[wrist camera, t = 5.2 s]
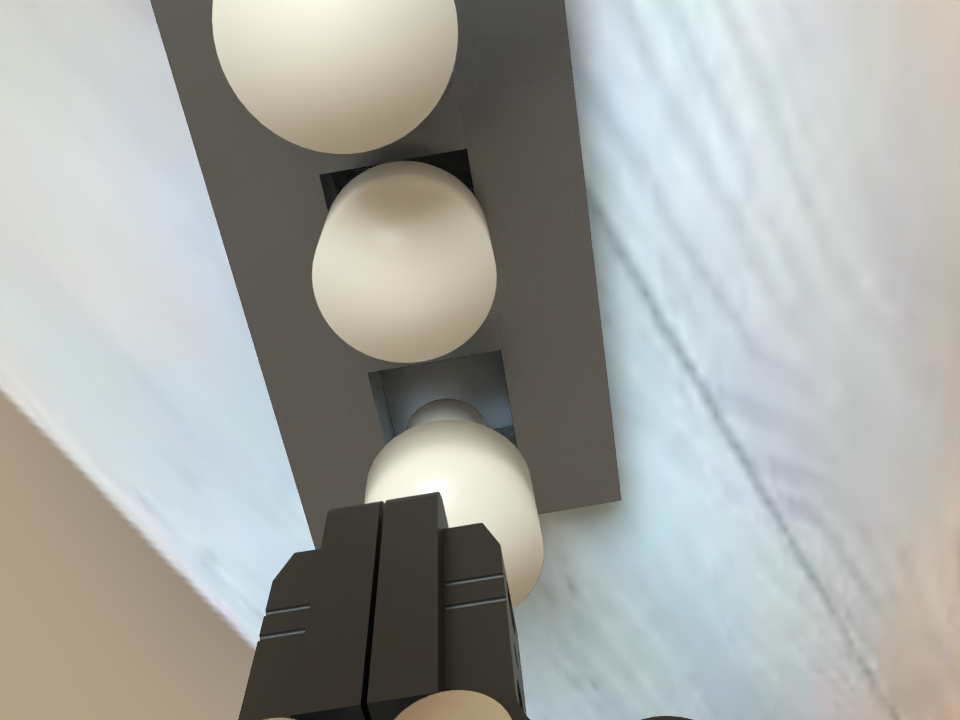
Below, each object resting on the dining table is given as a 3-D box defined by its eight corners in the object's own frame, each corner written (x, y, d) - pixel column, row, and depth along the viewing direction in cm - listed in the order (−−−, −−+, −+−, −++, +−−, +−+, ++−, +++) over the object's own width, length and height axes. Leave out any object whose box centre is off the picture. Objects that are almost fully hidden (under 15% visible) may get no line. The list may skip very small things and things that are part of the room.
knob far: (509, 356, 26) (530, 465, 21) (530, 483, 28) (555, 613, 23) (357, 382, 26) (339, 497, 21) (388, 508, 28) (380, 642, 23)
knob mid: (469, 123, 26) (480, 174, 21) (493, 267, 28) (509, 346, 23) (318, 150, 26) (291, 207, 21) (352, 291, 28) (336, 376, 23)
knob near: (431, -114, 21) (433, -126, 15) (464, 83, 23) (476, 132, 17) (241, -79, 21) (179, -79, 16) (290, 114, 23) (249, 172, 17)
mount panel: (527, -210, 23) (538, -224, 21) (607, 460, 32) (621, 500, 29) (137, -138, 23) (107, -144, 21) (323, 508, 32) (316, 551, 30)
